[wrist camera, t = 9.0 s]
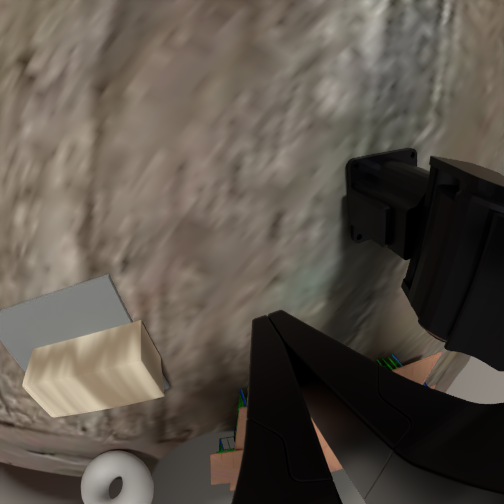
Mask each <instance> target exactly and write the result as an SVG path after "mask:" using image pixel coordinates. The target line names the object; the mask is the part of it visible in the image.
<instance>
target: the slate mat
mask: <svg viewBox="0 0 504 504" xmlns="http://www.w3.org/2000/svg"><path fill="white" fill-rule="evenodd" d="M132 322H133V321H132V319H131V317H130V316H129V314H128V312H127V310H126V308H125V306H124V304H123V302H122V300H121V298H120V296H119V294H118V292H117V290H116V288H115V286H114V284H113V281H112V279H111V277H110V275H109V274H107V275H104V276H101V277H98V278H95V279H92V280H89V281H86V282H83V283H80V284H77V285H74V286H71V287H68V288H65V289H62V290H59V291H56V292H53V293H50V294H47V295H44V296H41V297H38V298H35V299H32V300H29V301H26V302H23V303H20V304H17V305H15V306H12V307H9V308H6V309H3V310H0V340H1V342H2V343H3V344H4V346H5V347H6V348H7V350H8V351H9V352H10V354H11V355H12V356H13V358H14V359H15V360H16V361H17V363H18V364H19V365H20V366H21V368H22V369H23V370H24V371H25V372H26V370H27V367H28V364H29V361H30V357H31V354H32V351H33V349H35V348H39V347H43V346H47V345H51V344H54V343H58V342H62V341H66V340H70V339H74V338H77V337H81V336H85V335H89V334H92V333H96V332H100V331H103V330H107V329H111V328H114V327H118V326H121V325H125V324H128V323H132ZM162 378H163V387H164V390H166V389H169V388H170V385H169V383H168V382H167V380H166V379H165V377H164V375H163V374H162Z"/></svg>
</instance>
